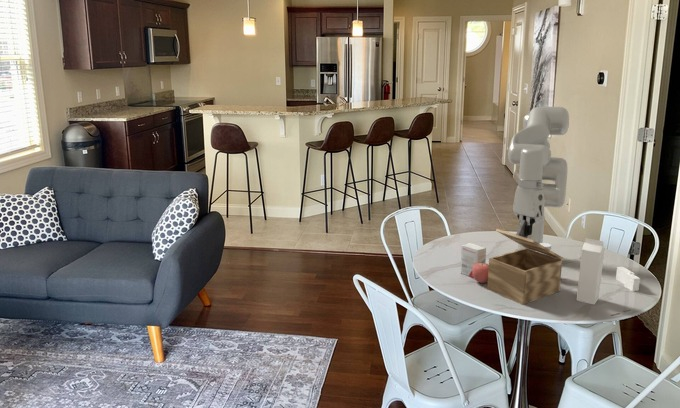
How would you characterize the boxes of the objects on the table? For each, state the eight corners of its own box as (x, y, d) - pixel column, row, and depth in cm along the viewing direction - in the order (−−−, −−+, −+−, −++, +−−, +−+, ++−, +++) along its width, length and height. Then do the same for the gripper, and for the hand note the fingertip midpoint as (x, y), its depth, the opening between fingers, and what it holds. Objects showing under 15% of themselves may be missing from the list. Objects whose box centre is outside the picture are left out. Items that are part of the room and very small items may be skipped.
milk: (580, 295, 203) (587, 236, 198) (598, 299, 200) (605, 239, 194) (576, 300, 199) (582, 240, 193) (594, 305, 195) (601, 243, 190)
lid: (525, 247, 216) (533, 231, 216) (562, 259, 203) (569, 242, 203) (495, 230, 204) (503, 213, 205) (532, 242, 191) (540, 224, 192)
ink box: (485, 276, 220) (487, 247, 217) (477, 279, 217) (478, 250, 214) (468, 270, 227) (469, 242, 224) (459, 273, 224) (461, 244, 221)
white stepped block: (610, 277, 220) (612, 263, 219) (643, 282, 215) (645, 268, 214) (607, 290, 208) (609, 276, 206) (642, 296, 202) (644, 281, 201)
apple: (471, 285, 212) (472, 264, 210) (471, 277, 219) (472, 258, 217) (492, 286, 211) (493, 266, 209) (491, 279, 218) (492, 259, 216)
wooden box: (523, 277, 219) (525, 248, 216) (559, 291, 206) (562, 260, 203) (487, 289, 209) (489, 258, 206) (522, 304, 196) (525, 271, 193)
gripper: (555, 186, 192) (551, 238, 197) (519, 178, 205) (515, 227, 210) (541, 189, 189) (536, 242, 193) (505, 181, 201) (501, 230, 206)
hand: (525, 234), depth 201 cm, fingers closed
